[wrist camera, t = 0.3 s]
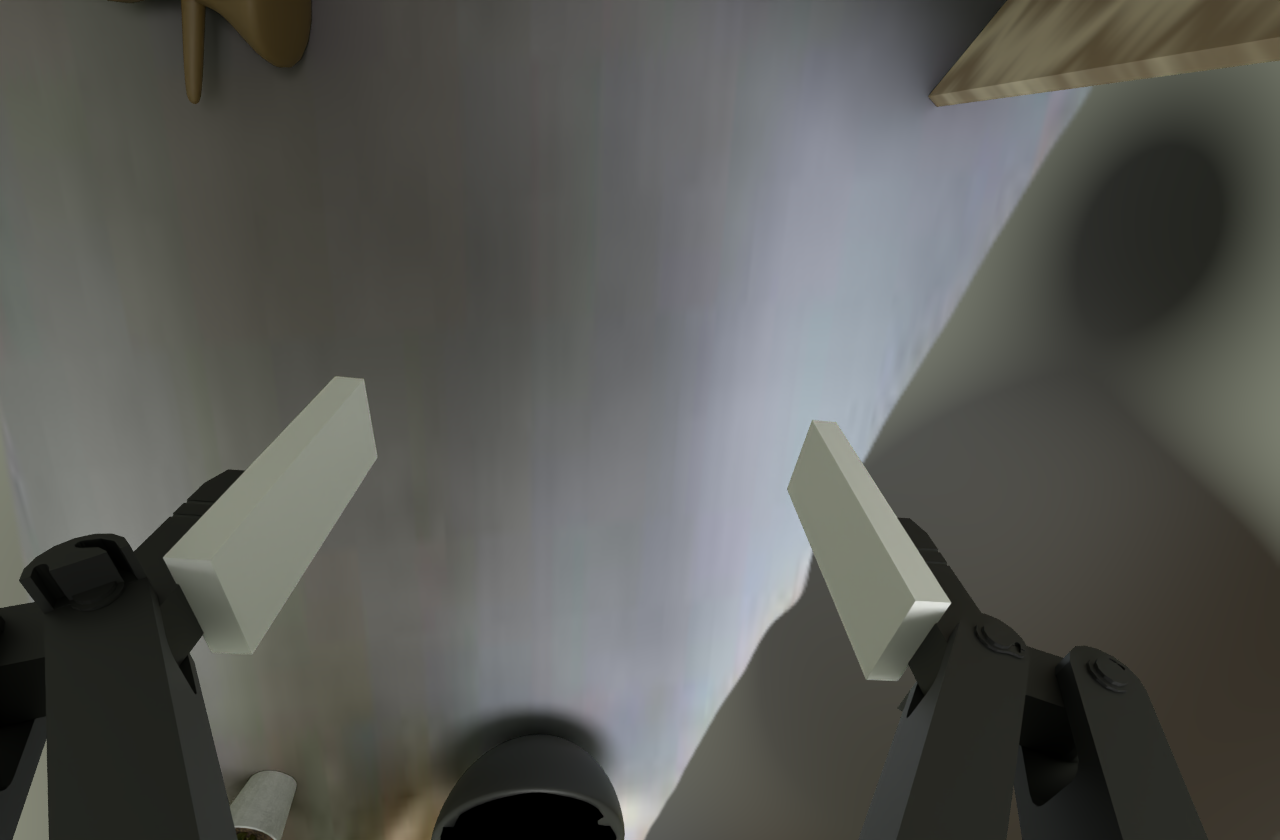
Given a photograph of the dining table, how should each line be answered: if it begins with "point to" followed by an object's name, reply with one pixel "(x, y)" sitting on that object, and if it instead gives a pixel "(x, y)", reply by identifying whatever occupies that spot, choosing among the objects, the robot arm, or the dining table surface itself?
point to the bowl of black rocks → (532, 795)
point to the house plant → (263, 806)
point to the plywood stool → (1107, 44)
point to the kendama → (245, 32)
